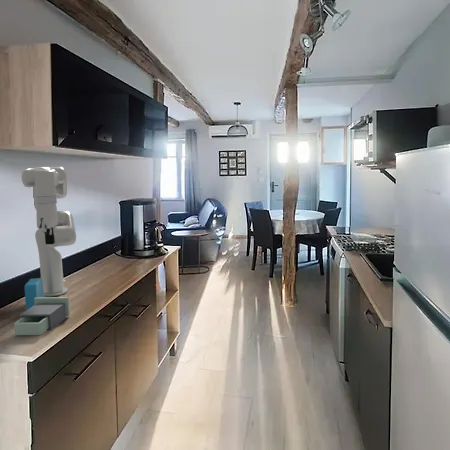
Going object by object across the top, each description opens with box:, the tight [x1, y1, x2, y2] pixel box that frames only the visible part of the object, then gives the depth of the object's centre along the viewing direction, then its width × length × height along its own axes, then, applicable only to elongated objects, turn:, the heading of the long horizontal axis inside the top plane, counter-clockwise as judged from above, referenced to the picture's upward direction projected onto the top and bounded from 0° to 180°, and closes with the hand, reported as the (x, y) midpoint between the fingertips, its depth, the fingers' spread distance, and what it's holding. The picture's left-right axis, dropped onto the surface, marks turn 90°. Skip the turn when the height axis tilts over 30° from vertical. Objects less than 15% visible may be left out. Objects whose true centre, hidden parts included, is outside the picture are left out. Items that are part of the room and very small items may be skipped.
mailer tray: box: [13, 296, 71, 336], centre depth 143 cm, size 19×13×8 cm
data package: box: [23, 277, 44, 311], centre depth 162 cm, size 12×4×12 cm, turn 14°
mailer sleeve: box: [19, 303, 67, 331], centre depth 145 cm, size 12×11×6 cm
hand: (50, 243), depth 163 cm, fingers closed
